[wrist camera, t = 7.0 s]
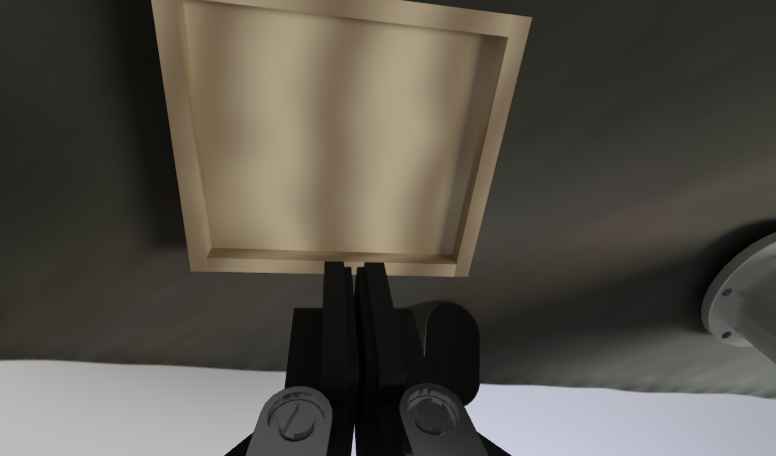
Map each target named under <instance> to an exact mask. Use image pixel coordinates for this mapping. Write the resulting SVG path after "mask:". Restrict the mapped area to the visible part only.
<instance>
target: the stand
mask: <svg viewBox="0 0 776 456" xmlns="http://www.w3.org/2000/svg"><path fill="white" fill-rule="evenodd" d="M422 349H423V353H424V357H425V361H426V365H427V368H428V372H429V376H430V380H431V383H433V384H437V385H441V386H443V387H445V388H447V389H449V390H450V391H452V392H453V393H454V394H455V395H456V396H457V397H458V398H459V399H460V401H461V402H462V404H463V405H464V406H466V405H468V404H469V403H470V402H472V400H473V399H474V398H475V396H476V394H477V392H478V390H479V386H480V334H479V329H478V326H477V324H476V321H475V320H474V318H473V317H472V315H471V314H470V313H469V312H468V311H467V310H466V309H465V308H463V307H461V306H460V305H457V304H455V303H442V304H439V305H438V306H436V307H434V308H433V309H432V310H431V311H430V312H429V313H428V314H427V316H426V318H425V321H424V326H423V340H422Z"/></svg>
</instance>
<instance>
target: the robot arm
mask: <svg viewBox="0 0 776 456" xmlns="http://www.w3.org/2000/svg"><path fill="white" fill-rule="evenodd" d="M701 319H702V322H703V325H704V327H705V328H706V329H707V331H708V332H709V333H710V334H711V335H712V336H714V337H715V338H716V339H717V340H718V341H720V342H722V343H724V344H727V345H731V346H737V347H746V346H755V347H756V348H757V349H758V350H759V351H761V352H762V353H763V354H764V355H766V356H767V357H768V358H769V359H770V360H772V361H773V362H774V363H775V364H776V232H775V233H772V234H770V235H768V236H765V237H763V238H762V239H760V240H758V241H757V242H755V243H753V244H751V245H750V246H748V247H747V248H746V249H744V250H743V251H742V252H740V253H739V254H737V255H736V256H735V257H734V258H733V259H732V260H731V261H730V262H729V263H728V264H727V265H725V267H724V268H723V269H722V270H721V271H720V272H719V274H718V275H717V276H716V277H715V279H714V280H713V282H712V283H711V285H710V286H709V288H708V290H707V292H706V295H705V297H704V299H703V304H702V308H701ZM354 424H355V441H356V456H511V455H510V454H508V453H507V452H505V451H504V450H502V449H501V448H500V447H498V446H496V445H495V444H494V443H492V442H491V441H489V440H488V439H487V438H485V437H484V436H482V435H481V434H480V433H478V432H477V431H476V429H475V427H474V425H473V423H472V422H471V419H470V417H469V416H468V413H467V411H466V409H465V407H464V405H463V404H462V402H461V401H460V399H459V398H458V397H457V396H456V395H455V394H454V393H453V392H452V391H450V390H449V389H447V388H445V387H443V386H441V385H437V384H433V383H431V380H430V376H429V372H428V368H427V365H426V361H425V357H424V353H423V349H422V346H421V342H420V338H419V334H418V331H417V327H416V323H415V319H414V315H413V312H412V310H411V309H410V308H393V303H392V298H391V293H390V289H389V284H388V279H387V274H386V269H385V265H384V263H383V262H365V263H364V267H357V270H356V281H355V293H354V294H353V282H352V269H351V267H344V262H343V261H325V262H324V284H323V308H294V314H293V322H292V331H291V339H290V347H289V356H288V364H287V372H286V381H285V389H283V390H282V391H280V392H278V393H276V394H275V395H273V396H272V397H271V398H270V399H269V400H268V401H267V402H266V403H265V405H264V407H263V409H262V411H261V413H260V416H259V418H258V421H257V424H256V427H255V430H254V432H253V433H252V434H251V435H249V436H248V437H247V438H246V439H244V440H243V441H242V442H241V443H239V444H238V445H237V446H236V447H235V448H233V449H232V450H231V451H230V452H228V453H227V454H226V455H224V456H351V450H352V441H353V432H354Z"/></svg>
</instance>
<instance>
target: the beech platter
mask: <svg viewBox="0 0 776 456" xmlns="http://www.w3.org/2000/svg"><path fill="white" fill-rule="evenodd" d="M151 2H152V9H153V16H154V22H155V29H156V36H157V43H158V50H159V57H160V63H161V70H162V77H163V84H164V91H165V98H166V104H167V111H168V118H169V125H170V132H171V139H172V145H173V152H174V159H175V166H176V173H177V180H178V186H179V193H180V200H181V207H182V214H183V221H184V227H185V234H186V241H187V248H188V255H189V262H190V268H191V271H211V272H258V273H305V274H324V262H325V261H343V262H344V267H351V269H352V275H356V270H357V267H364V263H365V262H383V263H384V265H385V269H386V274H387V275H399V276H447V277H468V274H469V270H470V266H471V262H472V258H473V254H474V250H475V246H476V242H477V238H478V234H479V230H480V226H481V222H482V218H483V213H484V209H485V205H486V201H487V197H488V193H489V189H490V185H491V181H492V177H493V173H494V169H495V165H496V161H497V157H498V153H499V149H500V145H501V141H502V137H503V133H504V129H505V125H506V121H507V117H508V113H509V108H510V104H511V100H512V96H513V92H514V88H515V84H516V80H517V76H518V72H519V68H520V64H521V60H522V56H523V52H524V48H525V44H526V40H527V36H528V32H529V28H530V24H531V20H532V17H525V16H517V15H510V14H502V13H494V12H486V11H479V10H471V9H463V8H456V7H448V6H440V5H433V4H425V3H417V2H409V1H402V0H151Z"/></svg>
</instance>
